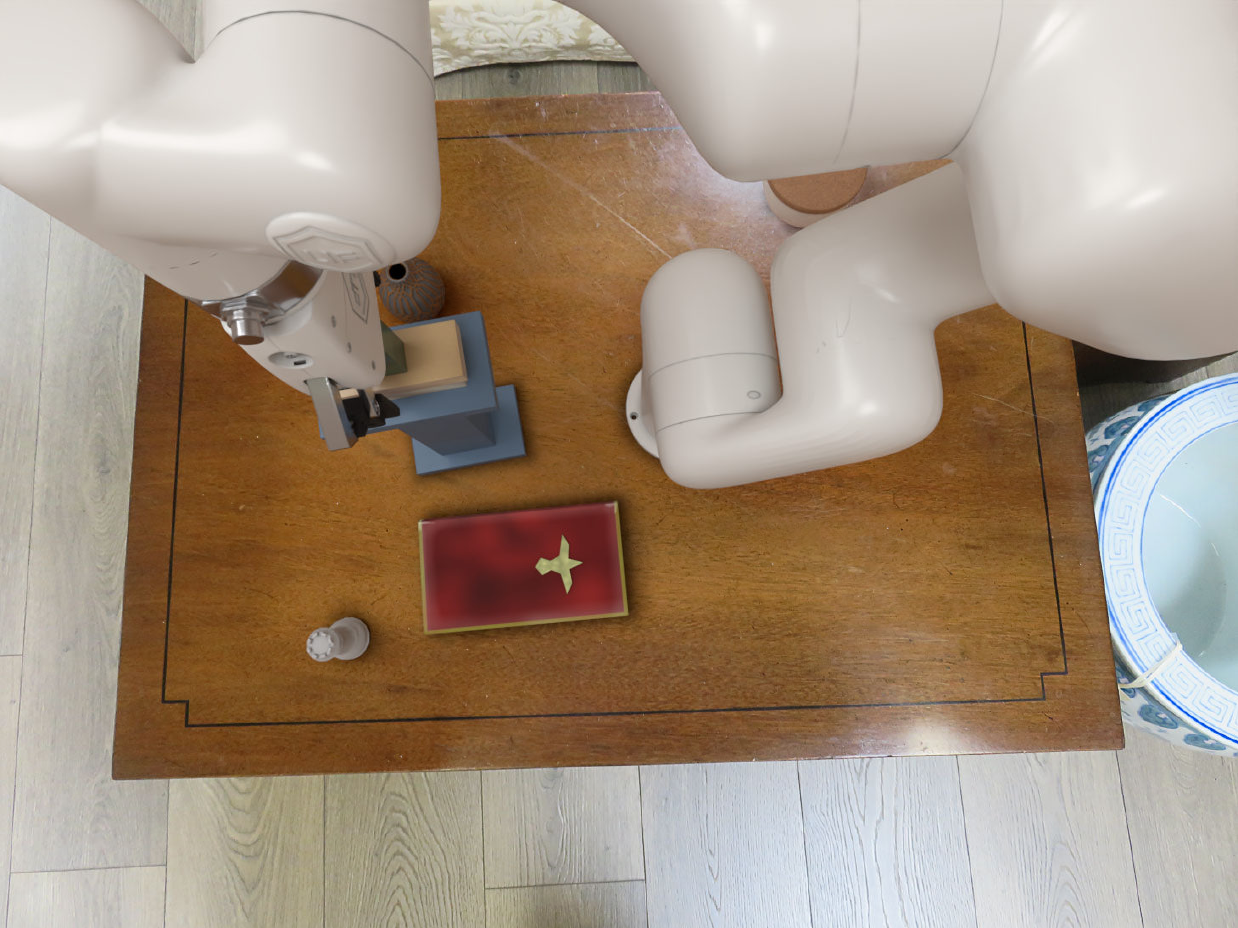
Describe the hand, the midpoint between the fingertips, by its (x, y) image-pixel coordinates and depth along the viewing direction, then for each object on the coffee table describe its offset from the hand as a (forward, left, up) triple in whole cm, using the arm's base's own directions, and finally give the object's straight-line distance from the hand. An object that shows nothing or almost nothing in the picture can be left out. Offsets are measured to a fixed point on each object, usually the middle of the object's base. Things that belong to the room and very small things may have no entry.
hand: (369, 349), depth 51 cm
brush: (0, 0, -6) cm, 6 cm away
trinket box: (-43, -20, -30) cm, 56 cm away
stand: (0, 0, -30) cm, 30 cm away
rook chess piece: (+16, +20, -31) cm, 40 cm away
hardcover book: (-4, +16, -31) cm, 35 cm away
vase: (+3, -16, -31) cm, 35 cm away
